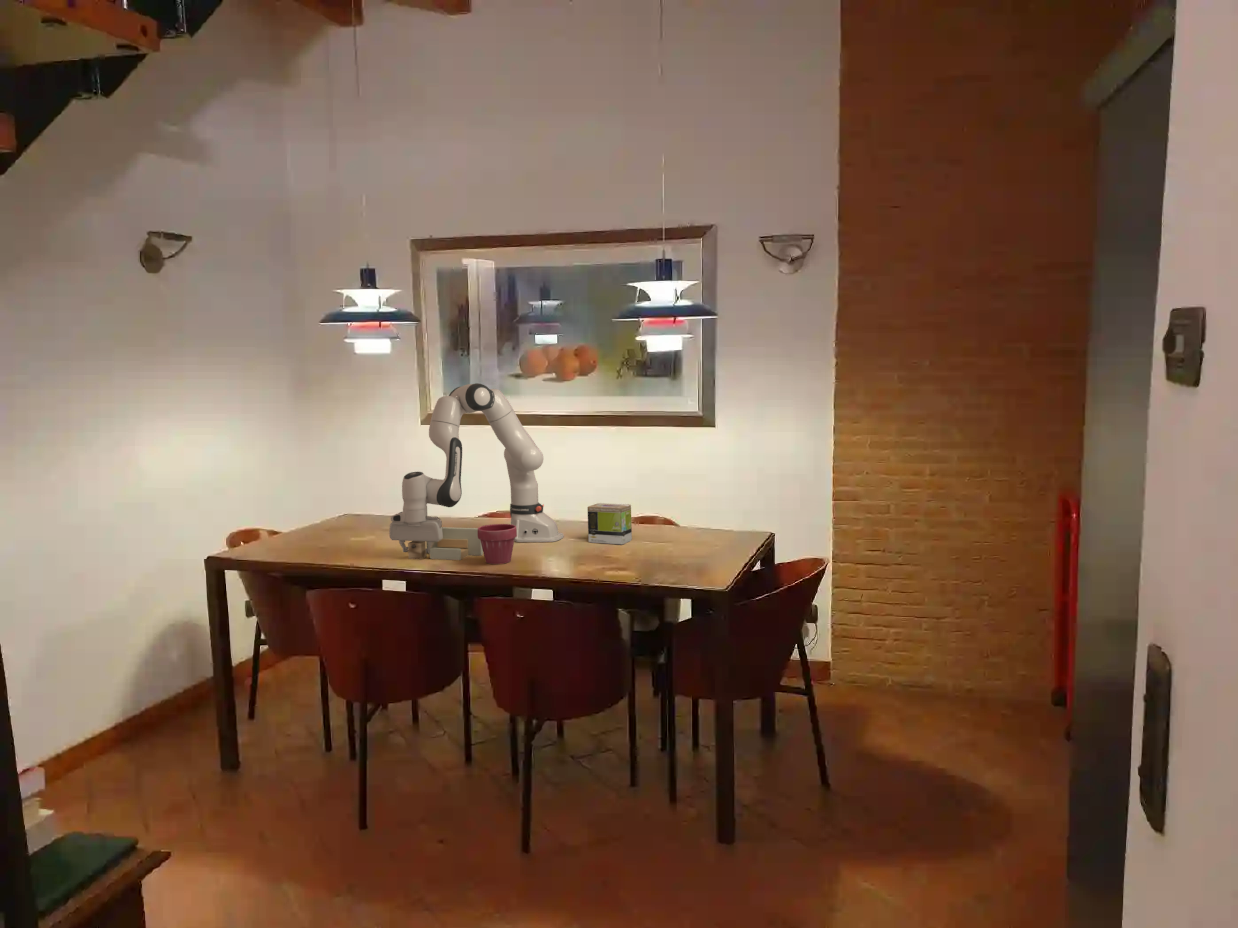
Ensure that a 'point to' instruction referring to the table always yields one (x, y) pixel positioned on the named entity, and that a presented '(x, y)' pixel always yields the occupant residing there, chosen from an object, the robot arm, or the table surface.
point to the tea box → (609, 523)
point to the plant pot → (497, 542)
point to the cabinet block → (417, 549)
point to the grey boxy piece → (456, 544)
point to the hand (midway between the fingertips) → (417, 552)
